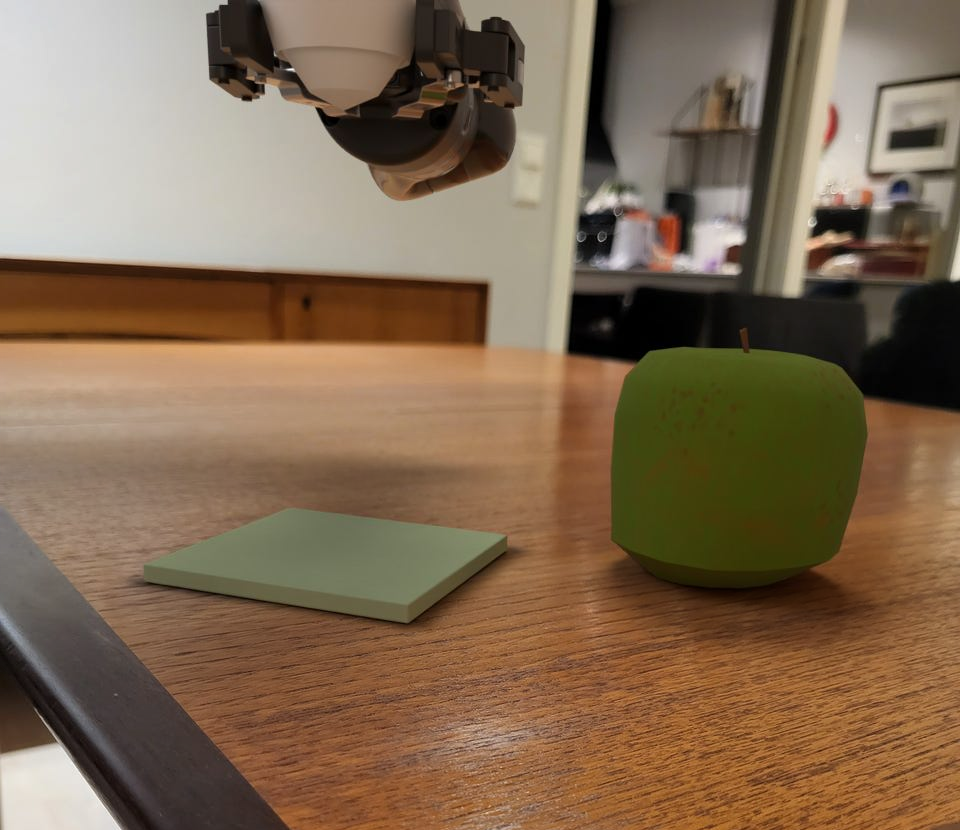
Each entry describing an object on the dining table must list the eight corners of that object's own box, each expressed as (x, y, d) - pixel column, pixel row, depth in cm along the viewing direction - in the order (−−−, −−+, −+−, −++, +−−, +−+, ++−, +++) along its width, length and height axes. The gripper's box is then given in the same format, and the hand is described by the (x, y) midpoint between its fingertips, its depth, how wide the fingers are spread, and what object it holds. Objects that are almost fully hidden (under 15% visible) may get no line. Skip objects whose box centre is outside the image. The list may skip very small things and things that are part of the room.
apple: (810, 627, 39) (857, 340, 36) (562, 579, 44) (580, 322, 40) (860, 565, 49) (901, 331, 45) (649, 531, 53) (671, 317, 50)
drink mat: (143, 582, 42) (142, 563, 41) (289, 522, 52) (289, 507, 52) (408, 624, 38) (408, 604, 38) (507, 550, 49) (508, 534, 48)
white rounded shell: (262, 345, 39) (235, -325, 32) (260, 332, 46) (237, -227, 39) (442, 349, 41) (456, -291, 34) (416, 335, 48) (422, -202, 40)
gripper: (263, 10, 52) (134, -99, 36) (539, 16, 51) (528, -92, 35) (268, 169, 55) (150, 131, 39) (531, 178, 54) (518, 142, 38)
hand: (331, 25), depth 37 cm, fingers closed on white rounded shell, 6 cm apart
